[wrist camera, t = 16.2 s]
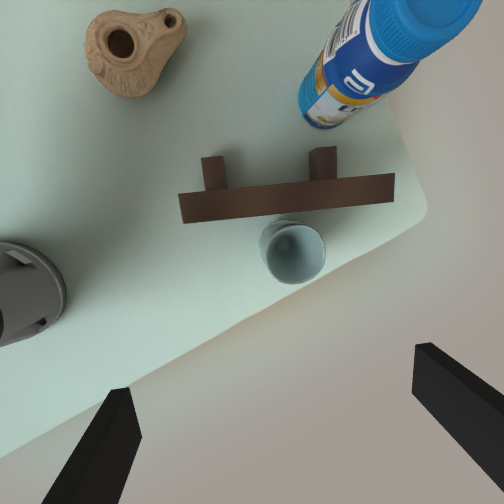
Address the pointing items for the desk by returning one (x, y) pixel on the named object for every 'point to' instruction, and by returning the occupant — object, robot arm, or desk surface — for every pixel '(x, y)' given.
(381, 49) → the beverage bottle
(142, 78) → the pottery oil lamp
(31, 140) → the desk surface
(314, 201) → the partition wall
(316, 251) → the cup
